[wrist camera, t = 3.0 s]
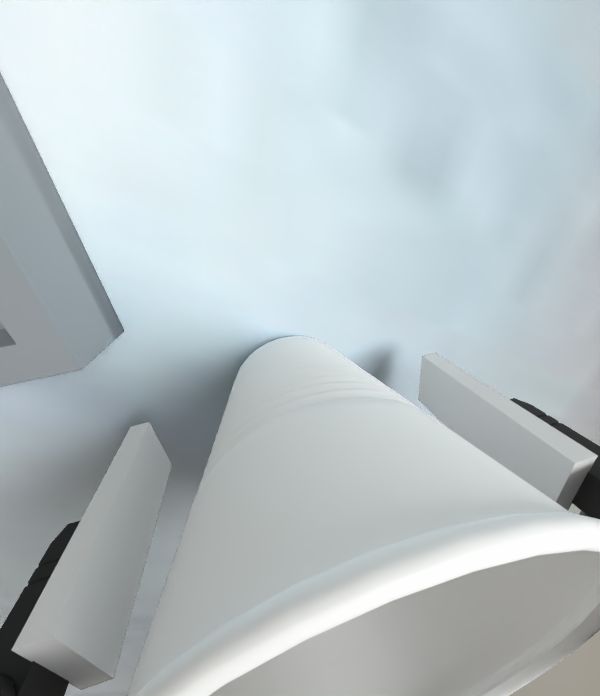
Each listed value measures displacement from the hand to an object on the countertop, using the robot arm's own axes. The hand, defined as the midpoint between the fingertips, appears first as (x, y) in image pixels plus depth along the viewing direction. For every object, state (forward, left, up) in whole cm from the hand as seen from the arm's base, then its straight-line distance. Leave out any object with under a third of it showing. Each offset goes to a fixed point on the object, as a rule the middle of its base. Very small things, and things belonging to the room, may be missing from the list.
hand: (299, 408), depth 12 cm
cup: (0, 0, -2) cm, 2 cm away
